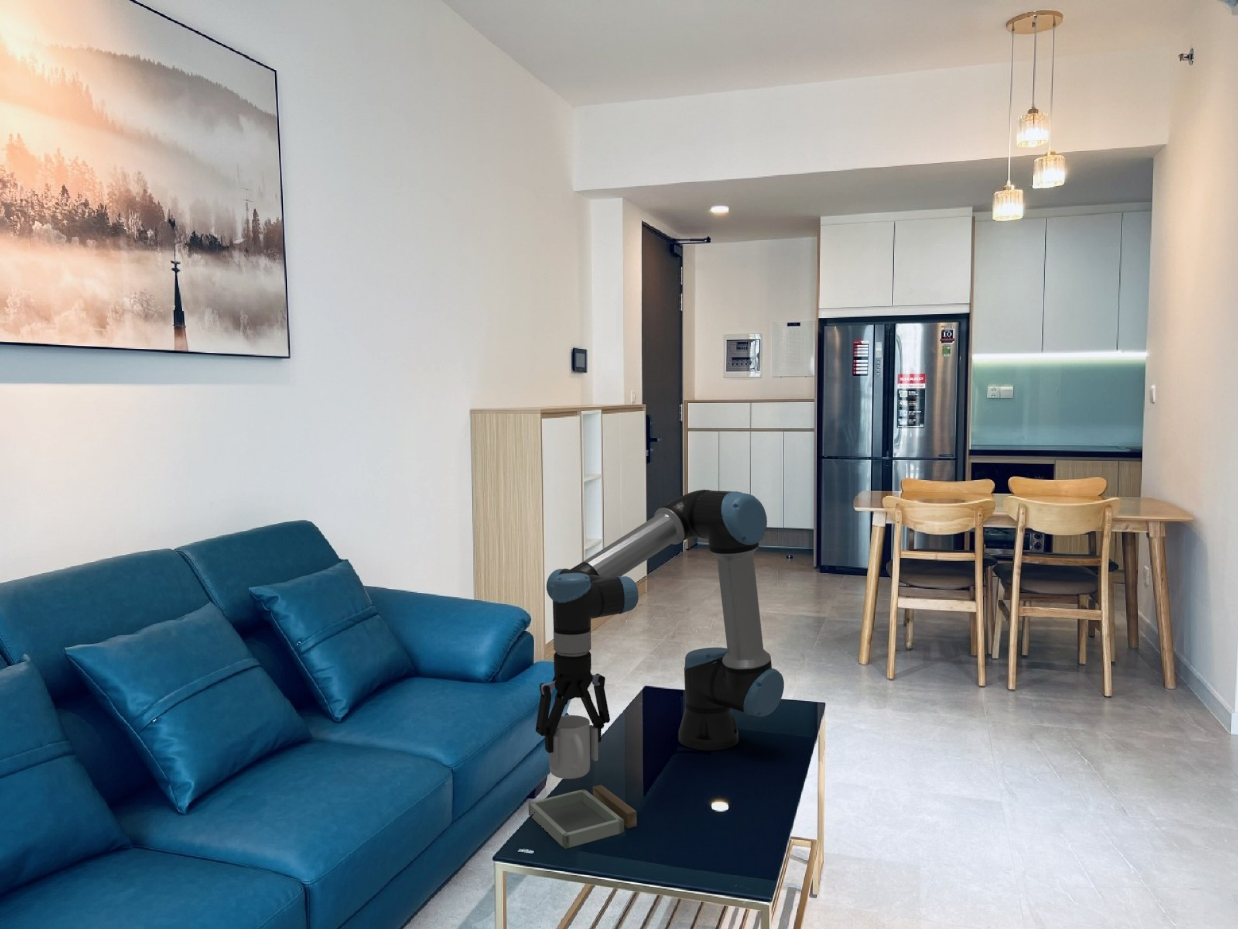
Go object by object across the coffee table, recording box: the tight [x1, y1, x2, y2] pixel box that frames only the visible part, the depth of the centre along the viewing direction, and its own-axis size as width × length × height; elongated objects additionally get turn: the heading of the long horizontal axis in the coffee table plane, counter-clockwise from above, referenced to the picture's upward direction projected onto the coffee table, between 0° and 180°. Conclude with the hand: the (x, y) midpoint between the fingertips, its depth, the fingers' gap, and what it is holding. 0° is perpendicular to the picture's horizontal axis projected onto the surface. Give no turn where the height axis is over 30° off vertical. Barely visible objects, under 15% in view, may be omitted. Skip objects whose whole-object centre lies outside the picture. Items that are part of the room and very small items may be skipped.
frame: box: [528, 788, 625, 850], centre depth 177 cm, size 13×17×2 cm
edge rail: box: [592, 784, 638, 829], centre depth 182 cm, size 2×15×3 cm, turn 29°
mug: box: [548, 714, 591, 780], centre depth 176 cm, size 12×8×10 cm
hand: (573, 762), depth 177 cm, fingers closed on mug, 8 cm apart
